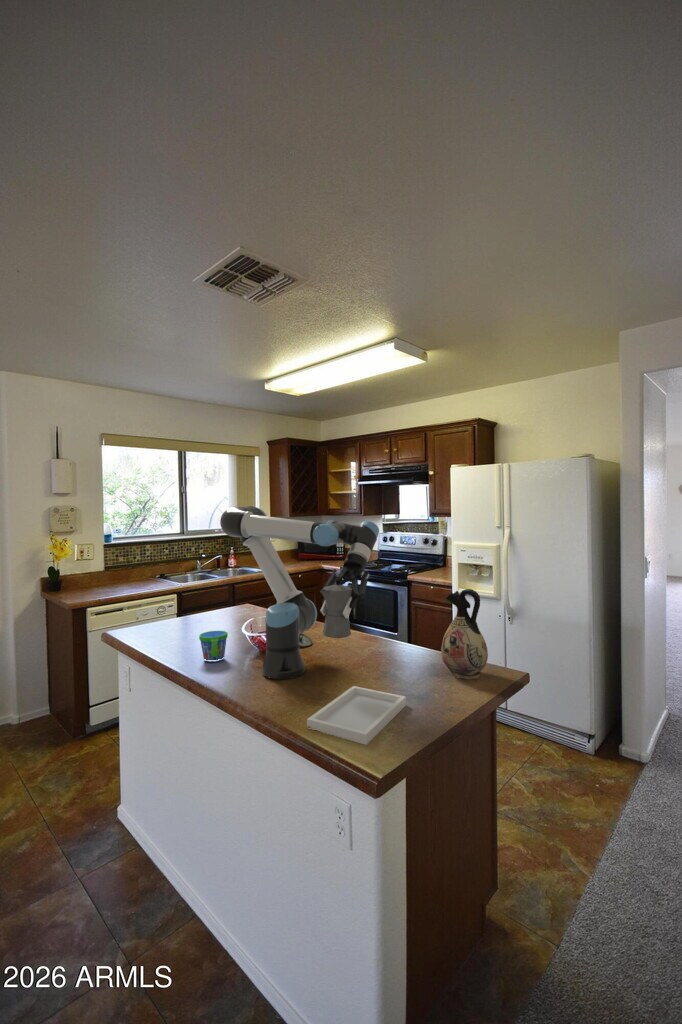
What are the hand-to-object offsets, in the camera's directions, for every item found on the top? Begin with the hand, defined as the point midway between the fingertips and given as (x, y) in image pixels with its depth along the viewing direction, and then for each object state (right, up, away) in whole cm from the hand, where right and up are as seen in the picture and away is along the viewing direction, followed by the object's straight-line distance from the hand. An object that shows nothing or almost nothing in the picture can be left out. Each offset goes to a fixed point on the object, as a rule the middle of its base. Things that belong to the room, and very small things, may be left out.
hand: (333, 614), depth 146 cm
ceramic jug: (+45, -23, +9) cm, 51 cm away
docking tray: (+7, -24, -20) cm, 32 cm away
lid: (-15, -24, +48) cm, 56 cm away
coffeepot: (+2, -7, +3) cm, 8 cm away
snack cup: (-47, -25, +31) cm, 61 cm away
